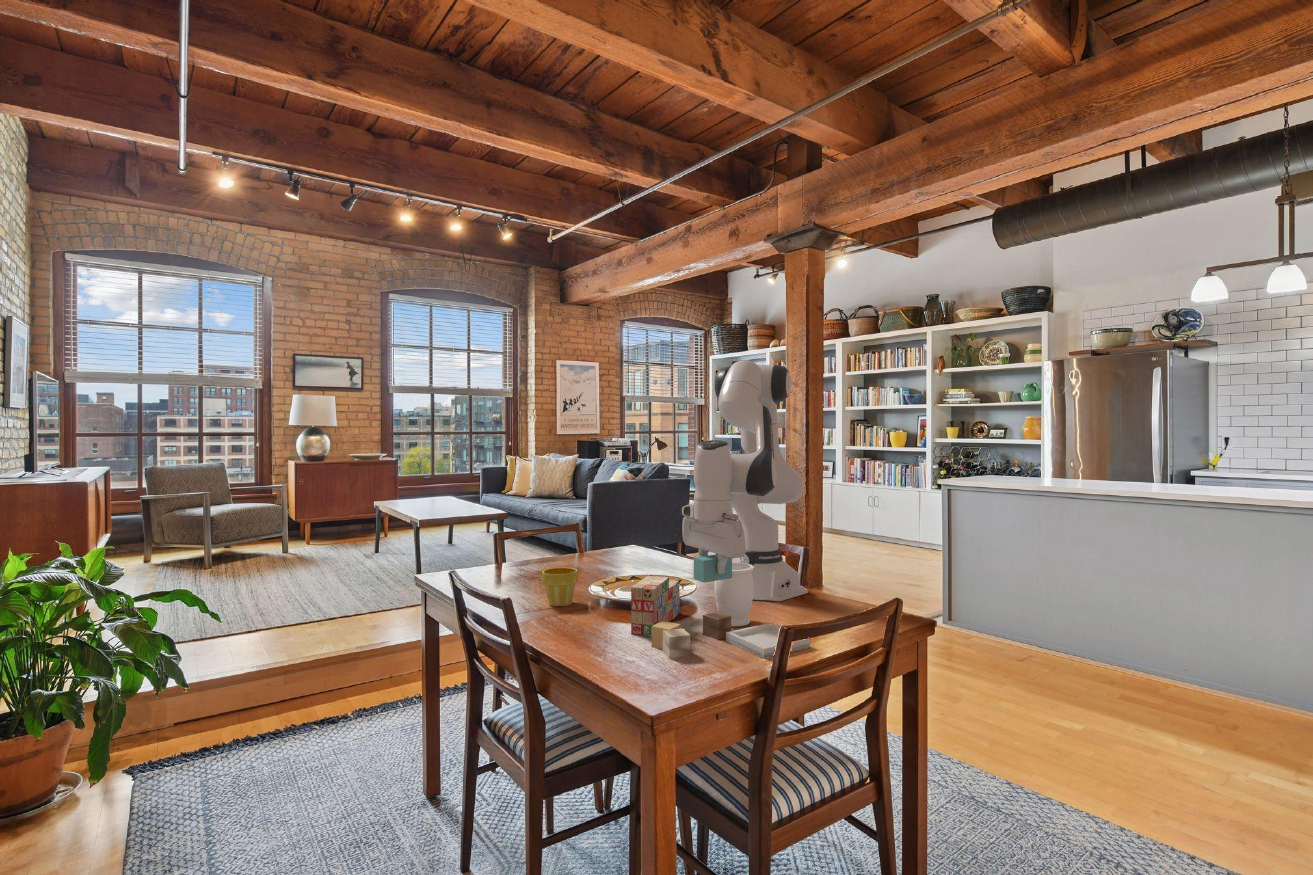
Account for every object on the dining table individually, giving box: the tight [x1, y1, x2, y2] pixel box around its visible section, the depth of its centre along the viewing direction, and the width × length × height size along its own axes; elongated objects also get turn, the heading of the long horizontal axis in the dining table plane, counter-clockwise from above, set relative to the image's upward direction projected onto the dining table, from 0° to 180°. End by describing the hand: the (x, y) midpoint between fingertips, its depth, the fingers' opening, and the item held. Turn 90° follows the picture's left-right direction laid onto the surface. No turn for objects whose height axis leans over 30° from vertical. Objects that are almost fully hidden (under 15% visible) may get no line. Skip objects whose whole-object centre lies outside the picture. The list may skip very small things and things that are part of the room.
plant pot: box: [541, 566, 579, 607], centre depth 197 cm, size 10×10×10 cm
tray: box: [725, 622, 811, 659], centre depth 161 cm, size 14×14×2 cm
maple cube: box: [662, 628, 691, 660], centre depth 155 cm, size 5×5×5 cm
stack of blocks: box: [630, 575, 681, 637], centre depth 178 cm, size 21×6×12 cm, turn 161°
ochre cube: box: [651, 621, 682, 650], centre depth 160 cm, size 5×5×5 cm
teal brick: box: [693, 553, 733, 584], centre depth 156 cm, size 8×4×5 cm, turn 121°
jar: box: [713, 561, 754, 627], centre depth 178 cm, size 11×10×15 cm
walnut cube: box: [702, 610, 732, 640], centre depth 168 cm, size 5×5×5 cm
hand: (713, 570), depth 156 cm, fingers closed on teal brick, 4 cm apart
